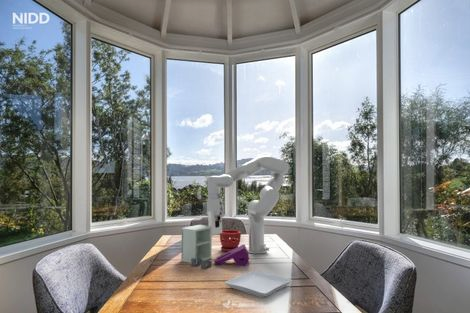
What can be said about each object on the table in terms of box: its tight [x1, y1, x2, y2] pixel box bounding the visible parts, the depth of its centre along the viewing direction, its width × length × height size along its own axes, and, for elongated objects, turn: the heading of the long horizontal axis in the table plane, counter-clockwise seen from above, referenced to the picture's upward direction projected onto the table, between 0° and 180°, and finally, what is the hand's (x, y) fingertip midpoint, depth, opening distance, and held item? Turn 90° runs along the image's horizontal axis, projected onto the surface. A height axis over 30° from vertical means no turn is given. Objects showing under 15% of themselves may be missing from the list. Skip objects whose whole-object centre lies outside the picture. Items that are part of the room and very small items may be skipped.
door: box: [207, 211, 223, 237], centre depth 189 cm, size 10×3×14 cm, turn 145°
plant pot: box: [219, 229, 242, 253], centre depth 198 cm, size 13×13×12 cm
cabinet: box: [180, 224, 213, 264], centre depth 177 cm, size 10×14×18 cm
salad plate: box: [224, 270, 293, 298], centre depth 134 cm, size 21×21×3 cm
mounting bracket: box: [214, 243, 250, 267], centre depth 169 cm, size 10×8×18 cm
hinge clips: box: [190, 258, 213, 270], centre depth 164 cm, size 9×5×4 cm, turn 55°
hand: (215, 226), depth 189 cm, fingers closed on door, 2 cm apart
